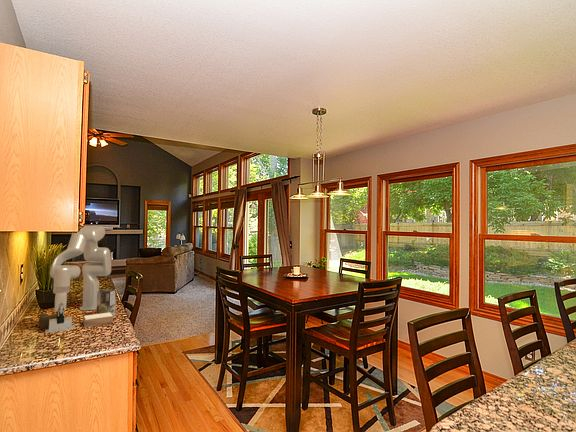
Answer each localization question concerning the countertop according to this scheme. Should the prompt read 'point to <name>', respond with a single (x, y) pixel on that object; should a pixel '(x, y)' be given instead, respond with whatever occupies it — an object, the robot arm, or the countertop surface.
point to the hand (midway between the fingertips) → (60, 321)
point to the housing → (60, 325)
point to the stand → (97, 319)
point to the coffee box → (106, 302)
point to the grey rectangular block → (46, 320)
